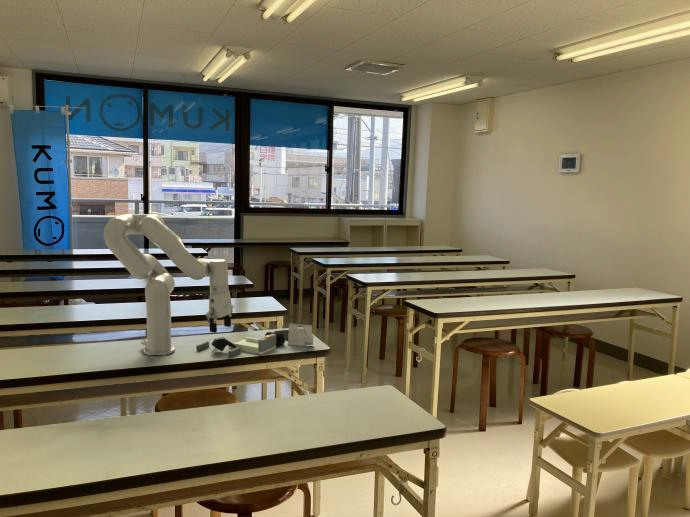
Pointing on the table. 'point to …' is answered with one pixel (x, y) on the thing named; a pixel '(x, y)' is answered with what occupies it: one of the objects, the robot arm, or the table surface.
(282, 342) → the webcam
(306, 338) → the ink cartridge box
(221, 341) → the power plug
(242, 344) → the port dock
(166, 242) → the robot arm
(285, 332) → the phone
